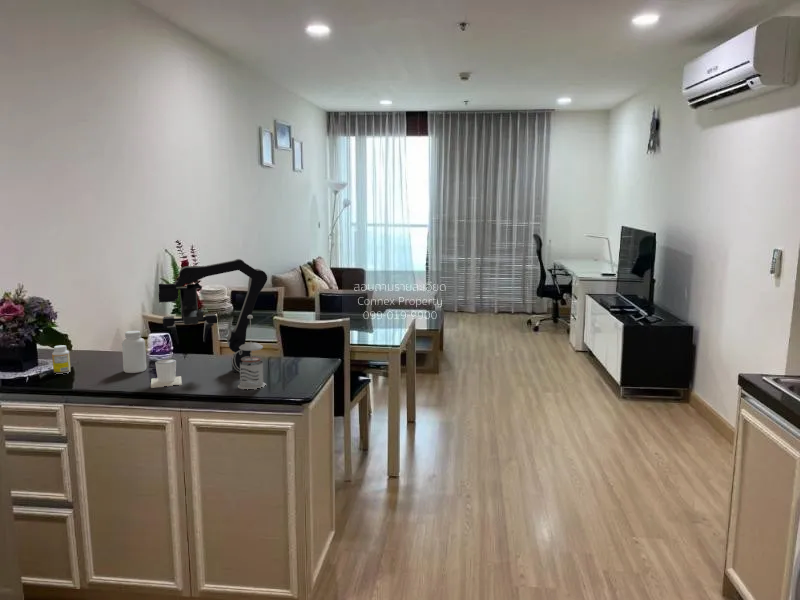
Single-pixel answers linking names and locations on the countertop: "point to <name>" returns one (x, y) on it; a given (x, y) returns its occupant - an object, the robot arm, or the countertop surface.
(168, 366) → the shot glass
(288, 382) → the countertop surface
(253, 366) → the french press
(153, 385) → the coaster
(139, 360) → the pill bottle
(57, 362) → the supplement bottle
